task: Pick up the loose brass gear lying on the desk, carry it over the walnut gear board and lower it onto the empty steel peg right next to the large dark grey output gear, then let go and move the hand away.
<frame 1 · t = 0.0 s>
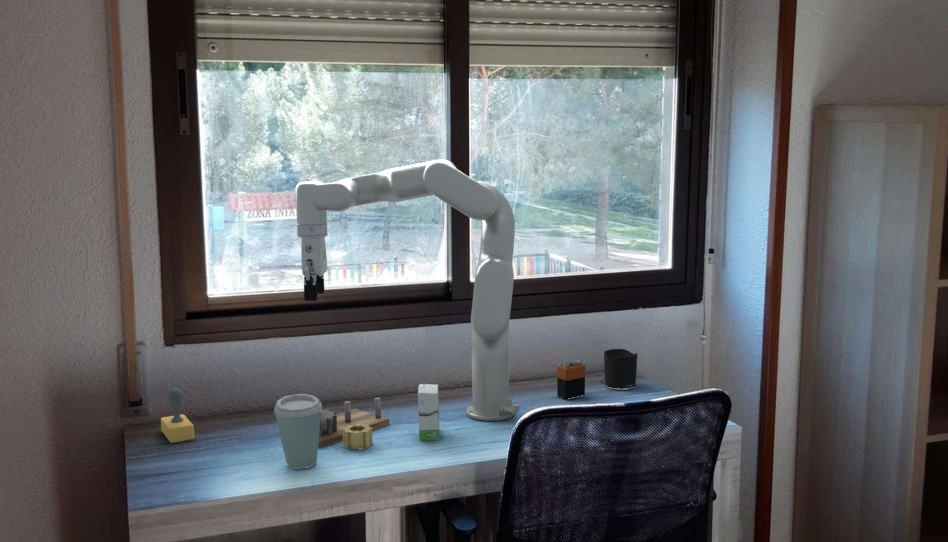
hand: (314, 296, 241), 31 cm above the table, tool pointing down, fingers open, 9 cm apart
ink box: (429, 435, 230), on the table
disposable coffee cup: (300, 465, 210), on the table
battery: (571, 397, 260), on the table
rubber stamp: (177, 436, 231), on the table
gear board: (338, 430, 233), on the table
pen holder: (620, 387, 269), on the table
brass gear: (357, 444, 223), on the table
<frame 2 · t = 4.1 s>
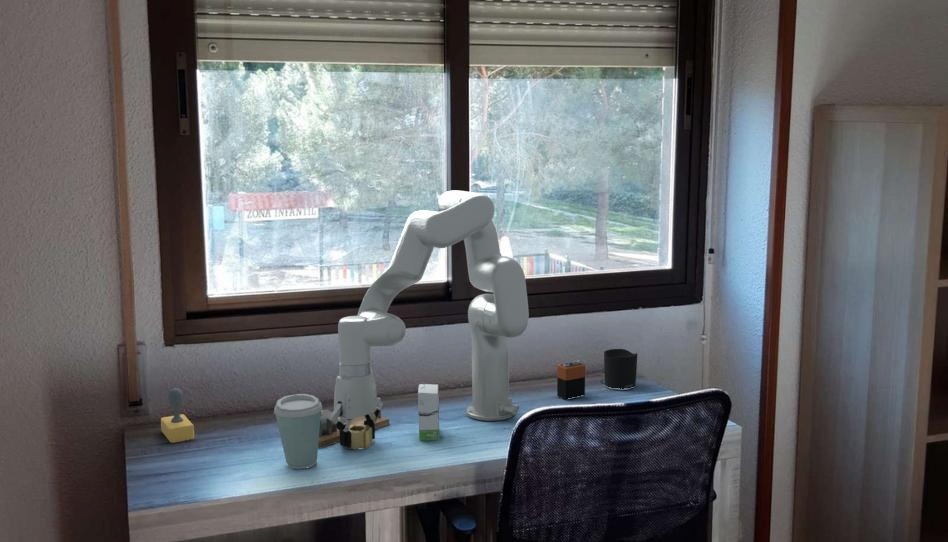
hand: (357, 441, 223), 1 cm above the table, tool pointing down, fingers closed on brass gear, 6 cm apart
brass gear: (357, 444, 223), on the table, touching gripper
everything else where it was.
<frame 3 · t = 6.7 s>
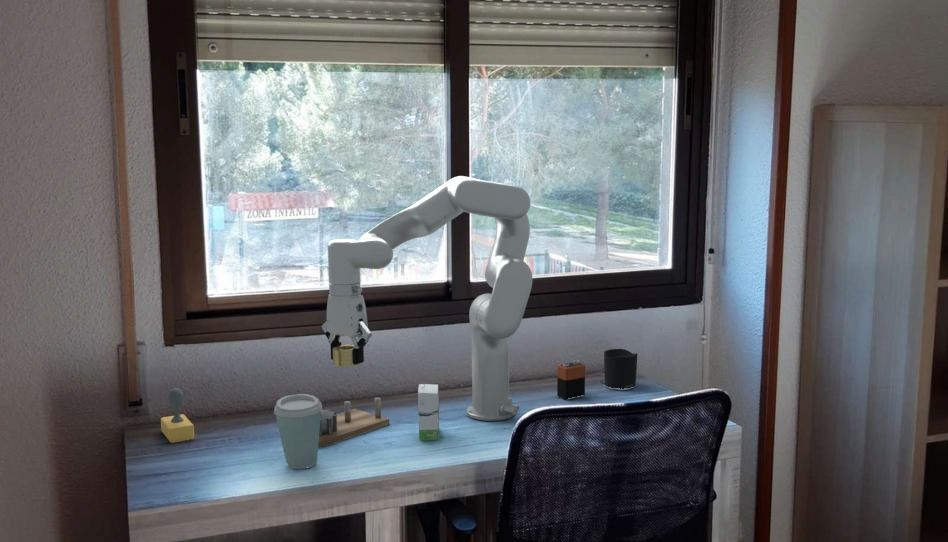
hand: (347, 360, 231), 18 cm above the table, tool pointing down, fingers closed on brass gear, 6 cm apart
brass gear: (347, 363, 231), point 17 cm above the table, touching gripper
everything else where it was.
when the fingers open (4 cm above the table, at t = 9.5 s): brass gear drops 1 cm, resting on gear board.
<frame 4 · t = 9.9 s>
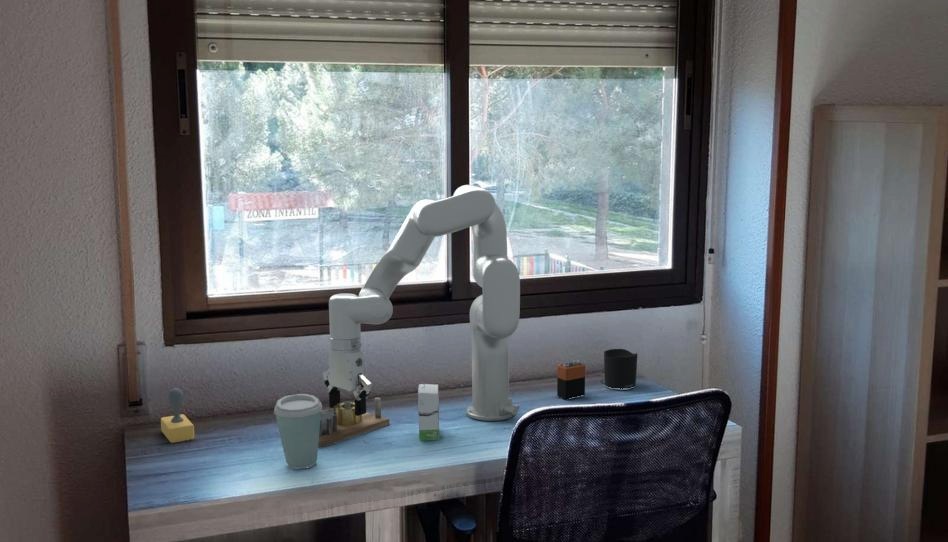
hand: (347, 410, 235), 4 cm above the table, tool pointing down, fingers open, 9 cm apart
brass gear: (348, 421, 235), point 1 cm above the table, touching gear board
everything else where it was.
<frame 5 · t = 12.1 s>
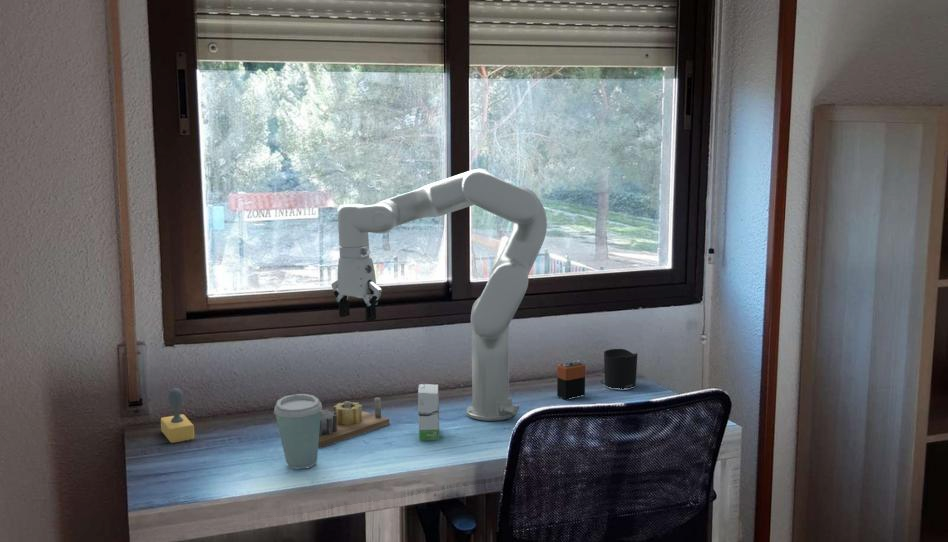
hand: (357, 318, 242), 25 cm above the table, tool pointing down, fingers open, 9 cm apart
nothing on the table moved.
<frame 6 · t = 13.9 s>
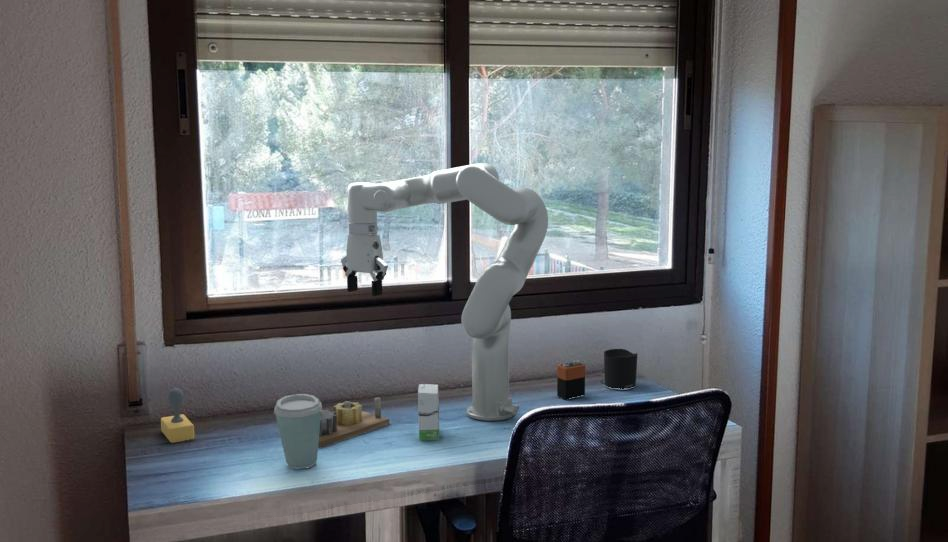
hand: (364, 293, 251), 30 cm above the table, tool pointing down, fingers open, 9 cm apart
nothing on the table moved.
at the end: brass gear 0.1 cm from the target spot on the gear board, point 1.5 cm above the gear board's base; the gripper is holding nothing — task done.
